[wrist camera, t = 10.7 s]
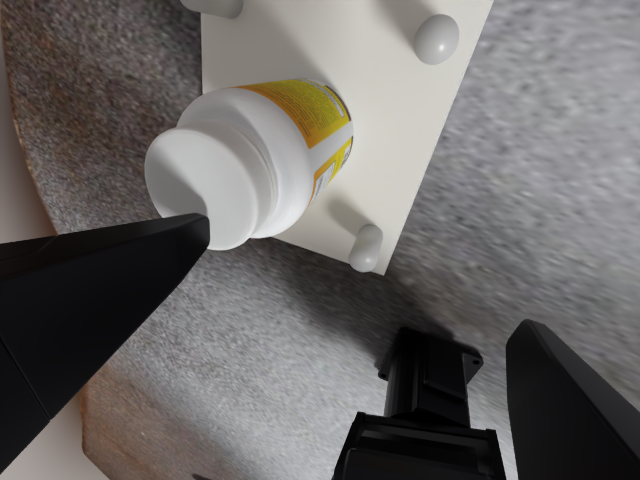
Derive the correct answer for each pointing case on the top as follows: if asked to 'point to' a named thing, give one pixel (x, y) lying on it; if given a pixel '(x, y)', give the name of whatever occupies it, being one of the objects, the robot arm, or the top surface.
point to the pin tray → (354, 97)
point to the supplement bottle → (250, 157)
